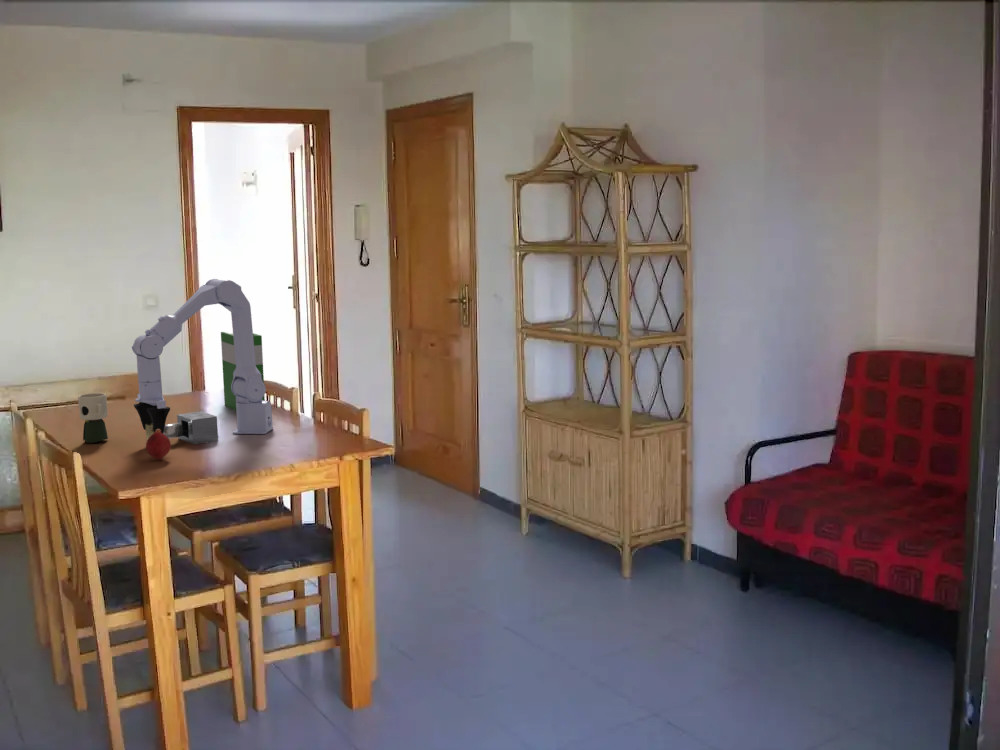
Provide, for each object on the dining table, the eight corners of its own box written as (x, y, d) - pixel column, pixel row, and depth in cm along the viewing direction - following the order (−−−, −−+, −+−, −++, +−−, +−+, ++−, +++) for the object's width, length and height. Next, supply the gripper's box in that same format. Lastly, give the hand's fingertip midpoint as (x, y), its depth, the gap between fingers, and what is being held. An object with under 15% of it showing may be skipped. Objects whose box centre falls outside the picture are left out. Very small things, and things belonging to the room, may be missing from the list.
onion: (157, 464, 241) (155, 432, 240) (142, 461, 244) (139, 430, 243) (176, 459, 246) (174, 428, 245) (161, 456, 249) (159, 425, 248)
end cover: (177, 436, 266) (176, 419, 266) (184, 439, 263) (183, 422, 262) (146, 441, 261) (145, 423, 260) (153, 444, 257) (152, 426, 257)
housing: (202, 435, 274) (201, 411, 273) (218, 440, 266) (216, 416, 265) (178, 438, 269) (176, 414, 268) (193, 444, 262) (192, 420, 261)
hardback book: (224, 405, 318) (220, 332, 314) (247, 402, 322) (243, 330, 318) (242, 414, 303) (238, 337, 299) (265, 411, 307) (261, 335, 303)
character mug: (75, 440, 268) (71, 394, 266) (101, 436, 273) (97, 391, 271) (90, 447, 260) (86, 399, 258) (116, 443, 265) (113, 395, 263)
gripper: (124, 379, 260) (128, 429, 262) (145, 386, 249) (149, 438, 251) (150, 376, 265) (154, 425, 267) (172, 382, 254) (175, 433, 256)
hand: (153, 431), depth 259 cm, fingers open, 7 cm apart
